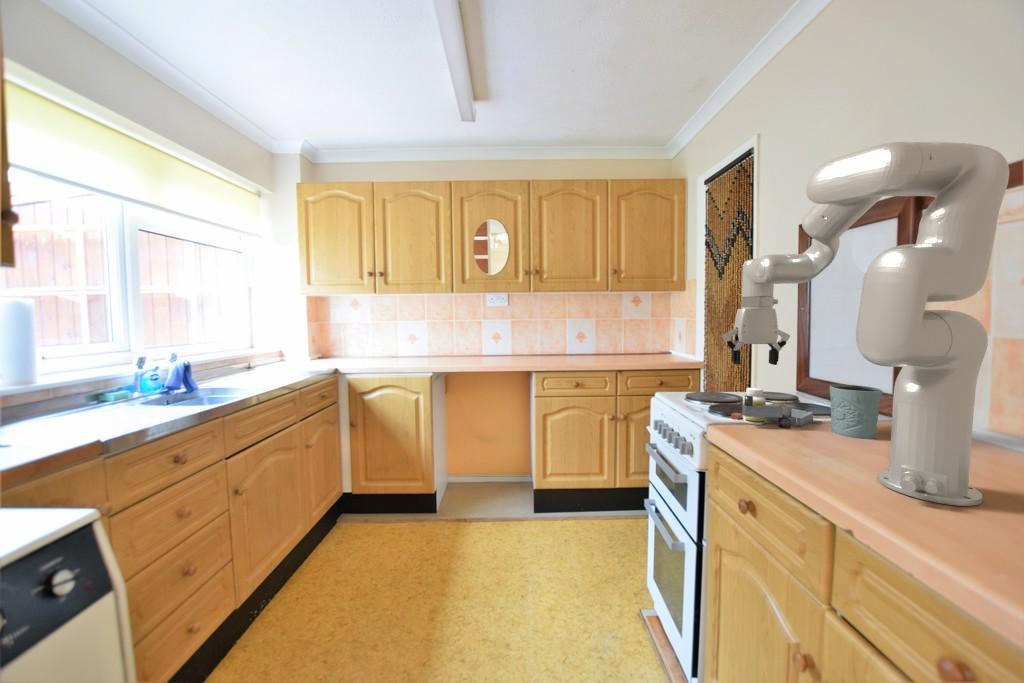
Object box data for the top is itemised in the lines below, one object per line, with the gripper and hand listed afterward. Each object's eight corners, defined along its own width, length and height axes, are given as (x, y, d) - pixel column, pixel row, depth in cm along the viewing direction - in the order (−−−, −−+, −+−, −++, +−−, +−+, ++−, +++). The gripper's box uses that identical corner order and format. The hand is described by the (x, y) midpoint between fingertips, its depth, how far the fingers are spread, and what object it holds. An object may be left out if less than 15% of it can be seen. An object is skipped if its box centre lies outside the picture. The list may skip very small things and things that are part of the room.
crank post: (788, 429, 104) (789, 419, 103) (730, 418, 115) (731, 409, 115) (792, 427, 105) (793, 417, 105) (735, 416, 117) (735, 408, 117)
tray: (801, 427, 105) (801, 418, 105) (760, 419, 113) (760, 411, 113) (812, 420, 111) (813, 412, 111) (773, 414, 119) (773, 406, 119)
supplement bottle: (769, 425, 108) (770, 390, 107) (749, 425, 108) (750, 390, 107) (757, 419, 113) (758, 386, 112) (738, 420, 113) (739, 387, 113)
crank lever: (787, 415, 107) (788, 395, 106) (793, 417, 104) (794, 397, 103) (741, 414, 108) (742, 394, 108) (746, 417, 105) (747, 397, 105)
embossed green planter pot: (829, 435, 98) (831, 388, 98) (825, 425, 107) (827, 382, 106) (884, 442, 93) (886, 392, 92) (875, 431, 101) (877, 386, 100)
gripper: (782, 303, 111) (780, 362, 112) (718, 304, 113) (716, 362, 114) (798, 303, 103) (795, 366, 105) (729, 304, 106) (727, 366, 107)
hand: (754, 364), depth 110 cm, fingers open, 9 cm apart
